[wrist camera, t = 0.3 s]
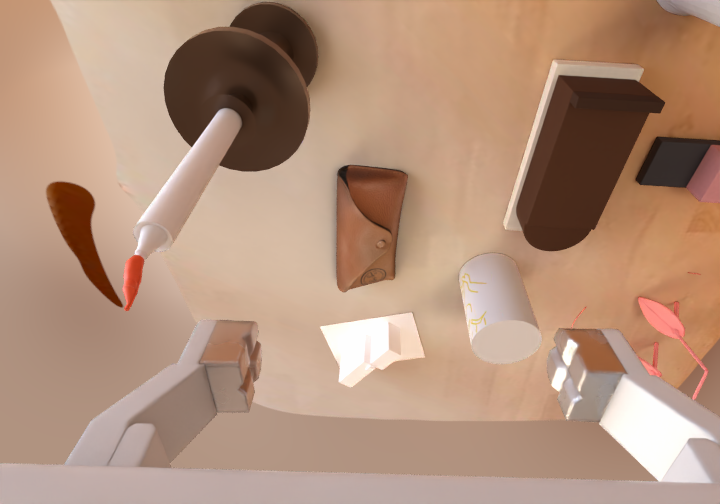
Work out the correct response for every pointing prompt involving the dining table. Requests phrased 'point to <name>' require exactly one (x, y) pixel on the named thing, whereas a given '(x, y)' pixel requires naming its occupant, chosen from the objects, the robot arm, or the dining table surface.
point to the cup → (498, 310)
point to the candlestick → (229, 113)
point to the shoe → (577, 150)
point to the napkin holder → (372, 344)
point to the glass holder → (694, 9)
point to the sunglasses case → (367, 224)
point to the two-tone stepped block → (684, 166)
